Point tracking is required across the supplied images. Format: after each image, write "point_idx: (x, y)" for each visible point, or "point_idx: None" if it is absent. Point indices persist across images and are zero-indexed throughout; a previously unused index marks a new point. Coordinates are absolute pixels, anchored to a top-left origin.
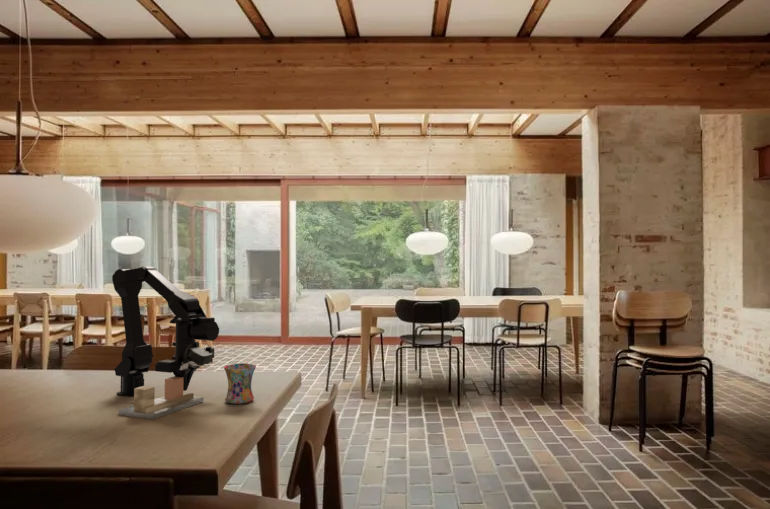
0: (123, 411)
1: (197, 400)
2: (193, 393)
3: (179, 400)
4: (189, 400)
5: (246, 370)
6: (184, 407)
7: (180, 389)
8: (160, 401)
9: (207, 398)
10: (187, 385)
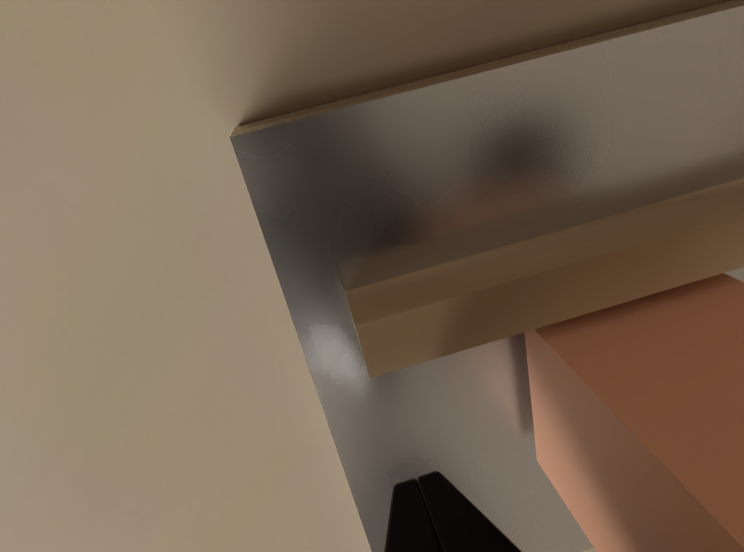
0: None
1: (403, 91)
2: (356, 323)
3: (677, 209)
4: (528, 153)
5: None
6: (691, 12)
7: (695, 393)
8: None
9: (70, 250)
10: (423, 549)
